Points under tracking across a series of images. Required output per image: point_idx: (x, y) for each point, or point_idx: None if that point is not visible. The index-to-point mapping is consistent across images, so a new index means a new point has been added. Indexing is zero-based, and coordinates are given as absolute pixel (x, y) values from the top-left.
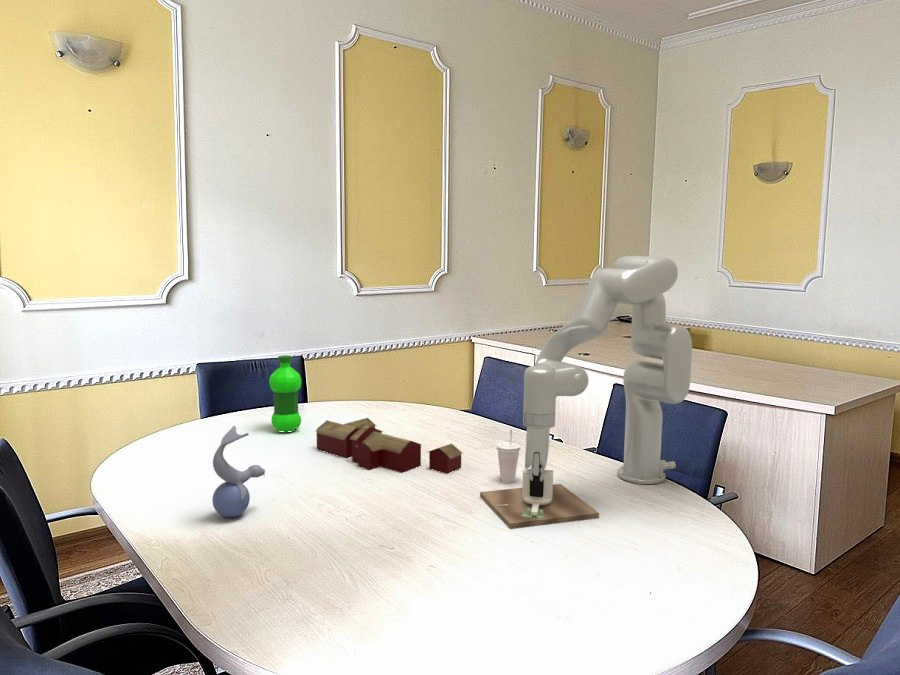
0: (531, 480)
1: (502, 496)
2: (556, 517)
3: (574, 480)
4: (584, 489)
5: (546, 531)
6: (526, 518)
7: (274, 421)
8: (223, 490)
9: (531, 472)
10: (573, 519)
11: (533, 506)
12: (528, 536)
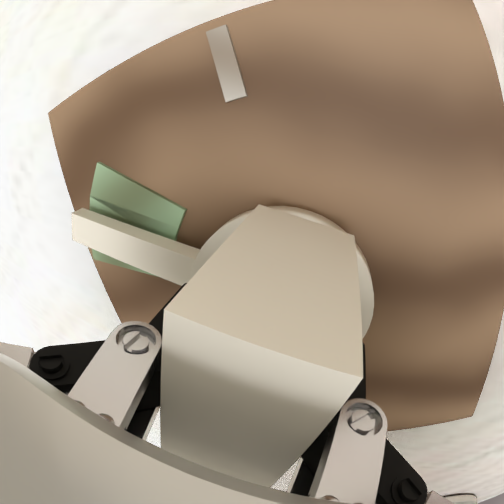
0: (128, 327)
1: (398, 89)
2: (115, 305)
3: (496, 436)
4: (422, 450)
5: (65, 239)
6: (86, 183)
7: None
8: None
9: (82, 378)
10: None
11: (123, 239)
12: (32, 174)
